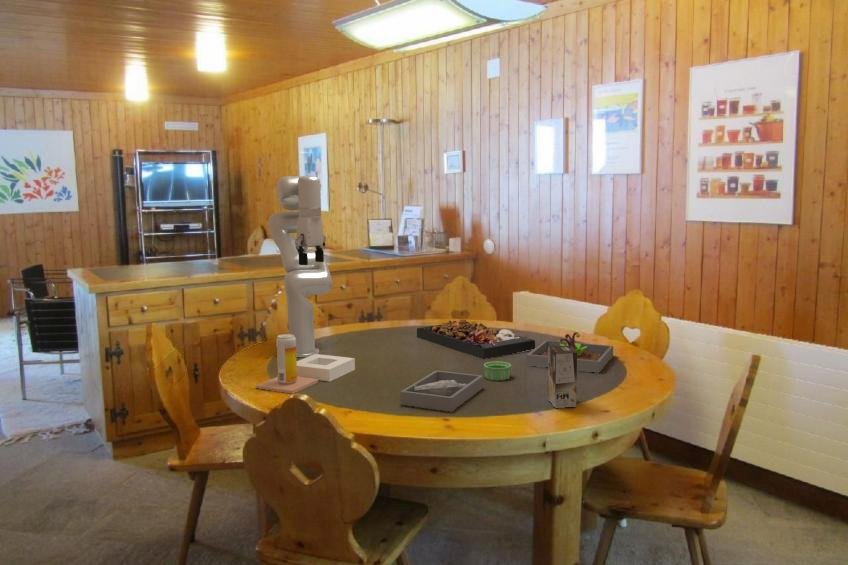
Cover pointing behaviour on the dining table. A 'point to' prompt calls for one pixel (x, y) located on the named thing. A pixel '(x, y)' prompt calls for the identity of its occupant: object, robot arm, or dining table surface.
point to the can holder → (324, 367)
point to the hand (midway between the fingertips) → (311, 263)
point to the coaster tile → (287, 385)
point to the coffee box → (562, 376)
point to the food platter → (475, 339)
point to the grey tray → (440, 401)
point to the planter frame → (582, 365)
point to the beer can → (286, 359)
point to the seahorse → (439, 388)
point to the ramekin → (497, 370)
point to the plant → (577, 348)
